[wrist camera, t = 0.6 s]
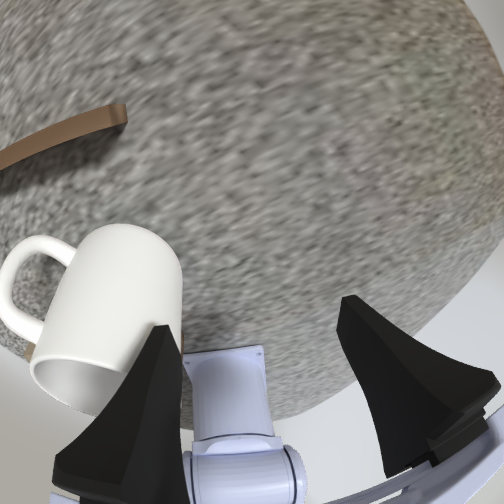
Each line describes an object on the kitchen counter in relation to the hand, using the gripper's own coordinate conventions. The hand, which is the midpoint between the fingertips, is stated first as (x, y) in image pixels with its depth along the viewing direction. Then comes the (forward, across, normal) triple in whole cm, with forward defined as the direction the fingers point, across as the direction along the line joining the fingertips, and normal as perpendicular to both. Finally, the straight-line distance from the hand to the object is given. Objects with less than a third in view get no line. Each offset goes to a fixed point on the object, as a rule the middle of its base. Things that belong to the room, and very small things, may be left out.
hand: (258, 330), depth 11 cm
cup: (+9, +9, 0) cm, 13 cm away
